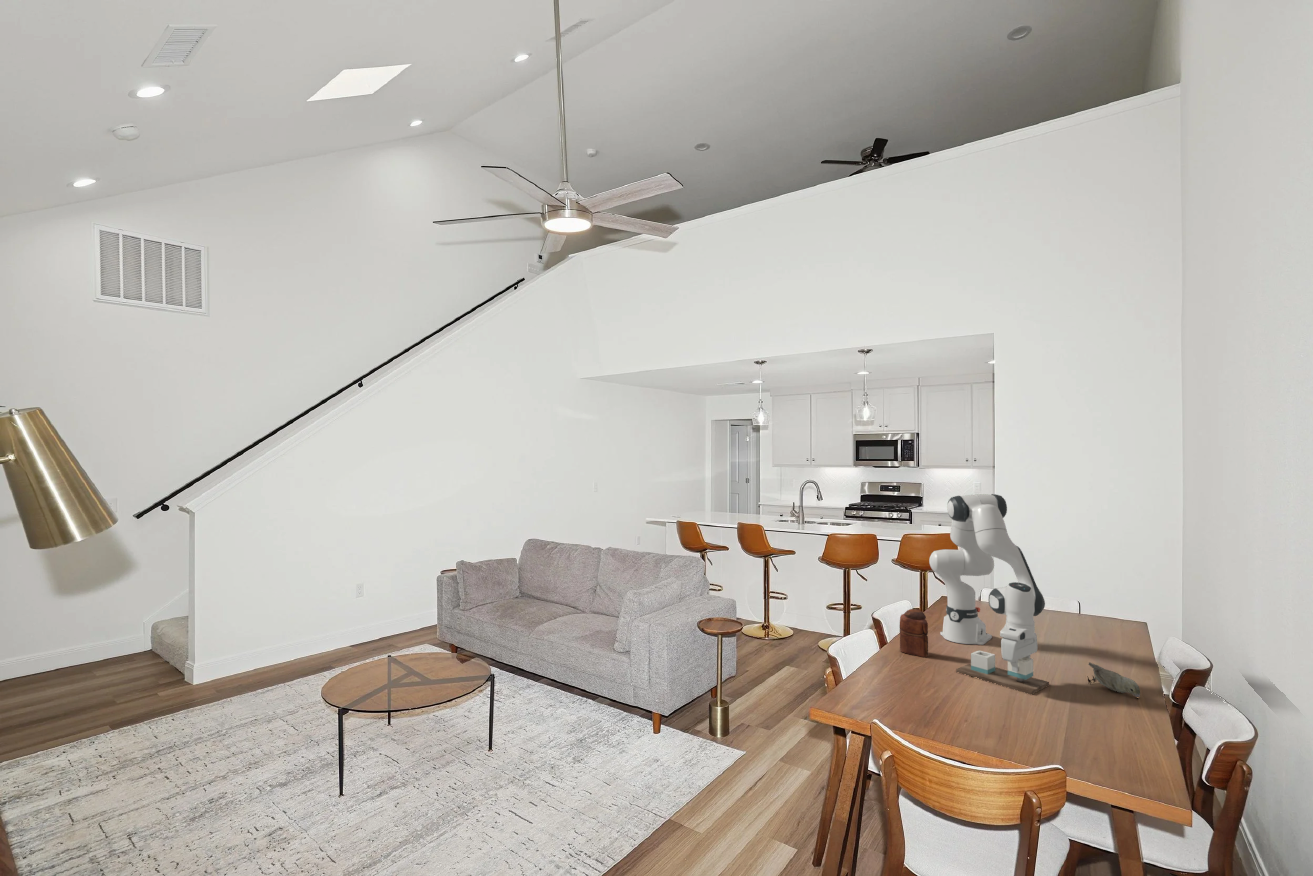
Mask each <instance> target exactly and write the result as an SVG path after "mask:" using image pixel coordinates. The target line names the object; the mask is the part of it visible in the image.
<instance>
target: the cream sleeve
mask: <svg viewBox="0 0 1313 876" xmlns="http://www.w3.org/2000/svg"><path fill="white" fill-rule="evenodd" d="M1018 666H1019V671H1018V672H1014V671H1012V665H1011V663H1010V662H1009V661H1007V670H1008V675H1011V676H1014V677H1018V678H1022V679H1025V680H1026V679H1028V678H1030V677H1034V658H1031V657H1030V658H1028V657H1024V658H1022V659H1019V660H1018Z"/></svg>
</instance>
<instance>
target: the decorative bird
mask: <svg viewBox="0 0 1313 876" xmlns="http://www.w3.org/2000/svg"><path fill="white" fill-rule="evenodd" d="M1087 665H1088V666H1089V667H1091V668H1092V669H1093V675H1091V676H1092V679H1090V677H1088V676H1087V681H1088V684H1087V685H1091V684H1092V683H1095V682H1096V683H1097V682H1098V683H1099V684H1100V685H1102V686H1104V687H1106V688H1107V689H1109V690H1111V691H1114V692H1116V691H1117V692H1116V693H1120V692H1121V694H1125V693H1129V694H1131V695H1132V697H1134V696H1135V697H1139V698H1140V697H1141V689H1140V686H1139V684H1138V683H1137V682H1136V681H1135V680H1134V679H1131V678H1130V677H1126V676H1123V675H1121V674H1119V673H1118V672H1115V671H1112V670H1109V669H1106V668H1104V667H1102V666H1100V665H1098V664H1095V663H1093V662H1090V661H1089V662H1088V664H1087ZM1135 697H1134V698H1135Z"/></svg>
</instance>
